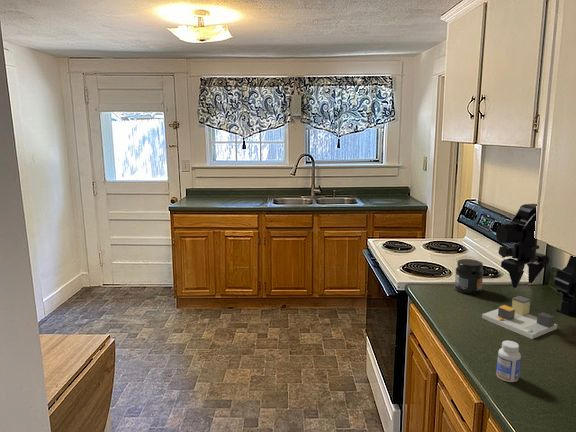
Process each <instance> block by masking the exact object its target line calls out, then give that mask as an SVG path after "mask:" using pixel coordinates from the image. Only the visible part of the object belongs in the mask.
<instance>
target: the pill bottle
mask: <svg viewBox="0 0 576 432" xmlns="http://www.w3.org/2000/svg"><path fill="white" fill-rule="evenodd" d="M519 350H520V344H519V343H517V342H515V341H513V340H508V339H507V340H503V341H502V342H501V348H499V350H498V352H497V360H496V361H497V362H496V377H497V378H498V379H500V380H501V381H504V382H508V383H516V382H518V380H519V378H520V368H521V362H522V360H521V359H522V355H521V354H522V353H520V352H519Z"/></svg>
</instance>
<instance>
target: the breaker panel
mask: <svg viewBox="0 0 576 432" xmlns="http://www.w3.org/2000/svg"><path fill="white" fill-rule="evenodd" d="M498 310H499V308H497V309H493V310H491V311H490V310H489V311H487V312H484V313H482V314H481V319H483V320H486V321H487V322H490V323H492V324H494V325H497V326H499V327H502V328H503V329H504V328H505V329H507V330H509V331H512V332H514V333H517V334H519V335H521V336H523V337H526V338H528V339H531V340H534V339H535V338H538V337H541V336H542V335H545V334H547V333H550V332H552V331H555V330H557V329H558V324H556V323H554V325H553V326H551V327H547V326H544V325H542V324H539V323H537V316H535V315H533V314H531V313H530V314H529V313H528V314H525V315H519V314H517V313H515V315H514V318H513V319H510V320H508V319H505V318H503V317H500V316H498Z"/></svg>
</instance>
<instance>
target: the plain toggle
mask: <svg viewBox="0 0 576 432" xmlns="http://www.w3.org/2000/svg"><path fill="white" fill-rule="evenodd" d="M536 317H537V323H539V324H542V325H544V326H547V327H551V326H553V325H554V324H555V321H556V320H555V319H556V316H554V315H552V314H549V313H546V312H543V311H542V312H541V313H540V312H539V313H538V314H537V316H536Z"/></svg>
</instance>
